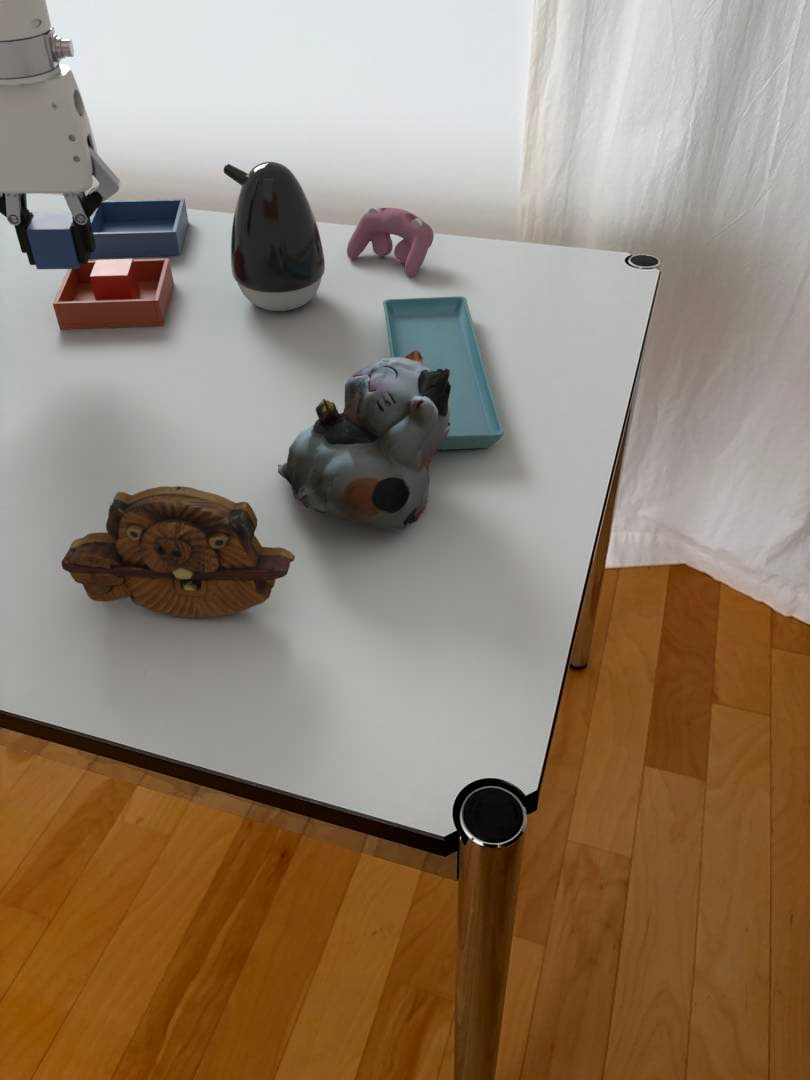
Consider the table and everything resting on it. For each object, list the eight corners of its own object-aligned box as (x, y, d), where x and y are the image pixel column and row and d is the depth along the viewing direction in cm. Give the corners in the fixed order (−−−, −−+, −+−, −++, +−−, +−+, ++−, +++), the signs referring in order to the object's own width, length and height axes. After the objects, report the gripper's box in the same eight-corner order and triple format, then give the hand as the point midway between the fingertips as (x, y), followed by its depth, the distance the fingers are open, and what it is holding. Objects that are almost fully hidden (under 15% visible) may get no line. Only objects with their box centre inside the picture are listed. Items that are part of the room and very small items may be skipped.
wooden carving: (69, 628, 65) (31, 526, 58) (86, 584, 69) (52, 482, 62) (296, 629, 65) (285, 526, 59) (301, 584, 69) (291, 482, 62)
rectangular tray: (382, 315, 99) (382, 295, 97) (464, 312, 100) (465, 292, 98) (401, 461, 80) (401, 438, 78) (503, 456, 81) (505, 434, 79)
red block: (97, 310, 99) (89, 276, 96) (104, 293, 101) (96, 259, 99) (134, 309, 99) (127, 275, 96) (140, 291, 102) (132, 258, 99)
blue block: (36, 269, 87) (25, 229, 84) (45, 251, 90) (35, 211, 87) (79, 269, 87) (69, 229, 84) (86, 250, 90) (77, 211, 87)
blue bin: (88, 258, 109) (82, 234, 107) (102, 223, 116) (97, 200, 114) (180, 255, 110) (176, 232, 108) (188, 221, 117) (184, 198, 115)
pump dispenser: (261, 272, 106) (246, 139, 96) (341, 288, 104) (335, 153, 93) (217, 312, 99) (196, 173, 89) (302, 329, 97) (291, 188, 86)
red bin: (59, 329, 97) (52, 303, 94) (77, 285, 104) (71, 261, 102) (163, 325, 97) (158, 300, 95) (173, 282, 104) (169, 258, 102)
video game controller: (428, 280, 108) (443, 220, 106) (410, 277, 105) (425, 215, 102) (360, 260, 112) (373, 202, 110) (341, 256, 108) (354, 196, 106)
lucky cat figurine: (270, 455, 80) (319, 305, 76) (393, 489, 84) (448, 349, 80) (285, 523, 67) (346, 347, 62) (431, 560, 71) (499, 397, 66)
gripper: (118, 42, 79) (153, 241, 92) (-79, 41, 78) (-16, 242, 90) (104, 68, 74) (143, 275, 86) (-108, 67, 73) (-37, 277, 85)
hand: (61, 256), depth 88 cm, fingers closed on blue block, 4 cm apart
